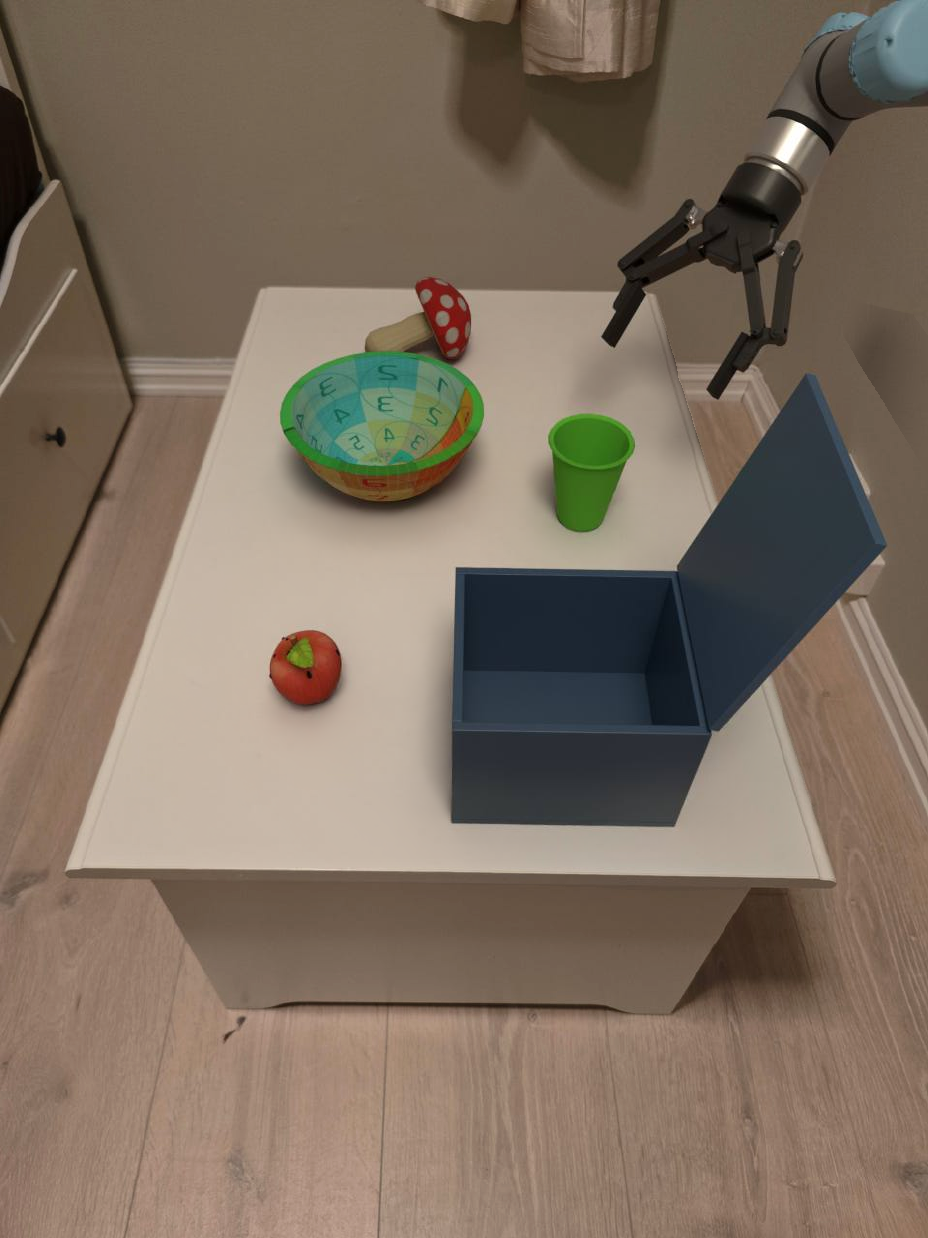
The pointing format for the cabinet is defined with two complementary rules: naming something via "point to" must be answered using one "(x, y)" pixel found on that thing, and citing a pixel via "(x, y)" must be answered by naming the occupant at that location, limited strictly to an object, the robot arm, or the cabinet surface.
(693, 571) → the lid
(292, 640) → the apple
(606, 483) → the cup
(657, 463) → the cabinet surface
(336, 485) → the bowl
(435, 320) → the decorative mushroom
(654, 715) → the box
